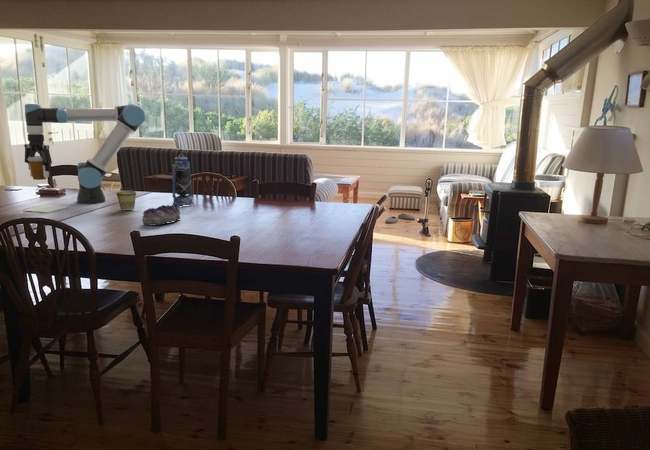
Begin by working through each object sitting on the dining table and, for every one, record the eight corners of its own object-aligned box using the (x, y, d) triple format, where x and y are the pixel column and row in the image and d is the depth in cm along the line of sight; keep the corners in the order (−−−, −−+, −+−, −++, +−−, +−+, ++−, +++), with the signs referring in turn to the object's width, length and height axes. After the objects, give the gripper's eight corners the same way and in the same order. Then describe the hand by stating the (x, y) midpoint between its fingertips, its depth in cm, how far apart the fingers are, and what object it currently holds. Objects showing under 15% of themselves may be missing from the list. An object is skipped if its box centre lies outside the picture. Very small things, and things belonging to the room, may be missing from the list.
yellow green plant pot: (130, 212, 267) (129, 194, 265) (113, 211, 269) (112, 192, 267) (143, 207, 279) (142, 190, 277) (127, 206, 281) (126, 189, 279)
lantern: (181, 208, 282) (179, 155, 275) (165, 205, 287) (163, 153, 280) (200, 204, 295) (198, 153, 288) (184, 201, 301) (182, 152, 294)
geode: (168, 218, 258) (170, 199, 255) (185, 223, 253) (187, 204, 250) (137, 223, 240) (138, 203, 238) (154, 230, 235) (156, 209, 233)
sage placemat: (68, 207, 273) (67, 206, 273) (48, 213, 259) (47, 212, 259) (44, 206, 276) (44, 205, 276) (23, 211, 262) (23, 210, 262)
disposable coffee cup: (42, 180, 262) (40, 157, 259) (25, 179, 263) (23, 157, 260) (53, 178, 271) (51, 156, 269) (37, 177, 272) (34, 155, 269)
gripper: (57, 134, 263) (61, 177, 268) (25, 132, 268) (29, 174, 273) (46, 135, 256) (50, 178, 261) (13, 133, 261) (17, 176, 266)
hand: (39, 176), depth 267 cm, fingers closed on disposable coffee cup, 8 cm apart
